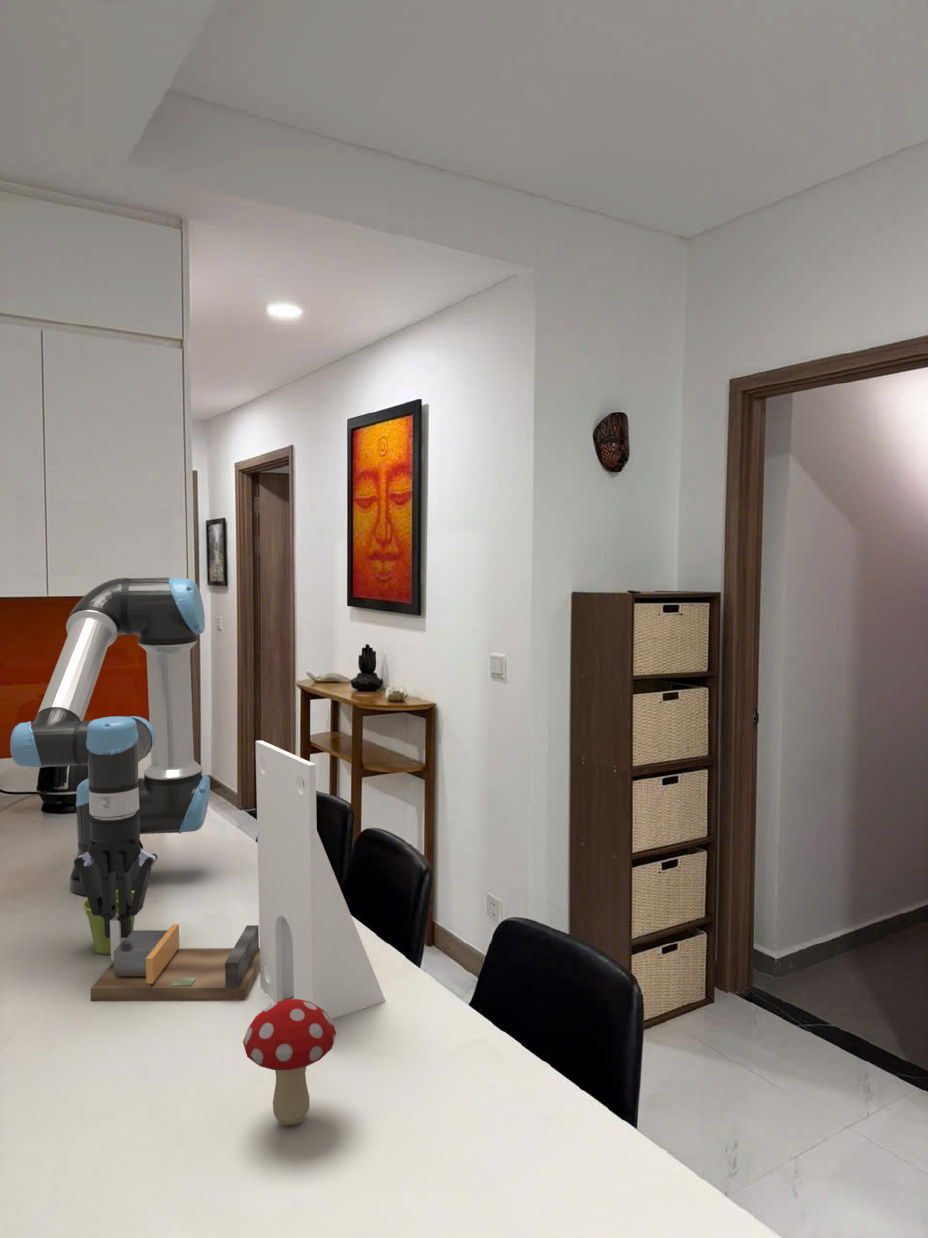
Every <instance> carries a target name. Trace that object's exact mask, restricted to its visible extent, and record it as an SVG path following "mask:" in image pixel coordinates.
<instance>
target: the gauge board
mask: <svg viewBox="0 0 928 1238" xmlns="http://www.w3.org/2000/svg"><path fill="white" fill-rule="evenodd" d="M258 974H260V935H259V925H258V924H257V925H255V924H253V925H249V924H248V925H246V926H245V928H244V930H243V931H242V933H241V935H240V937H239V938H238V940H237V941H236V943H235V944H234V947H233V948H231V947H229V948H228V947H225V948H224V947H222V948H221V947H220V948H219V947H215V948H214V947H211V948H209V947H208V948H206V947H204V948H199V947H198V948H196V947H195V948H194V947H193V948H192V947H191V948H186V947H185V948H180V947H179V948H178V950H177V951H176V952H175V954H174V955H173V956H172V958H171V959H170V961H169V962H168V963H167V965H166V966H165V968H164V969H163V970H162V972H161V973H160V974H159V976H158V977H157V979H156V980H155V981H154V983H147V982H146V976H114V961H113V962H112V963H111V964H110V965H109V966H108V967H107V968H106V970H105V971H104V972H103V973H102V974H101V975H100V977H99V978H98V979H97V980H96V981H95V982H94V984H92V985H91V987H90V1001H91V1002H100V1001H102V1002H103V1001H104V1002H106V1001H107V1002H108V1001H109V1002H116V1001H117V1002H122V1001H125V1002H126V1001H127V1002H128V1001H130V1002H133V1001H134V1002H135V1001H140V1002H141V1001H143V1002H144V1001H153V1002H155V1001H246V999H247V998H248V995H249V993H250V991H251V989H252V987H253V986H254V982H255V981H256V979H257V976H258Z"/></svg>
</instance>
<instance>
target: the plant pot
mask: <svg viewBox="0 0 928 1238" xmlns="http://www.w3.org/2000/svg"><path fill="white" fill-rule="evenodd" d="M134 891H135V890H131V892H132V900H133V895H134ZM82 908H83V910H84V911H85V914H86V916H87V919H88V921H89V927H90V928H89V929H90V932H91V936H92V942H93V947H94V951H95V952H96V953H98V954H101V955H111V941H110V938H106V936H105V924H104V918H103V917H101V916H99V915H97V916H94V915H93V914H92V912H91V908H90V905H89V901H88V898H86V899H85V900H84V901H83V902H82ZM116 909H118V910H117V912H116V913H115V915H116V914H119V902H118V890H116ZM135 916H136V915H135ZM135 916H131V931H132V930H134V925H135Z"/></svg>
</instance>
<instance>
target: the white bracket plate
mask: <svg viewBox="0 0 928 1238" xmlns="http://www.w3.org/2000/svg"><path fill="white" fill-rule="evenodd" d="M316 766H317V764H316V763H314V762H312V761H309V760H306V759H304V758H302V757H300V756H298V755H296V754H293V753H291V752H288V751H286V750H284V749H282V748H281V747H278V746H275V745H273V744H271V743H268V742H266V741H264V740H255V775H256V777H255V778H256V780H255V781H256V783H255V784H256V786H255V787H256V820H257V821H256V826H257V828H256V829H257V836H256V837H257V870H258V871H257V876H258V879H257V881H258V885H257V886H258V923H259V948H260V971H259V976H260V985H259V986H260V989H262V990H263V992H265V994H266V993H267V994H268V995H269V996H268V995H267V994H266V995H267V996H268V997H269V998H270V999H271V1000H272V1001H273V1002H274V1003H277V1002H279V1001H282V1000H286V999H287V998H288V999H289V998H292V997H293V999H300V1000H305V1001H309V1002H311V1003H313V1004H315V1005H316V1006H318V1007H319V1008H321V1009H323V1010H324V1011H325V1012H326V1014H327V1015H328V1016H329V1017H330V1019H331V1020H332V1019H335V1018H337V1017H341V1016H344V1015H347V1014H350V1013H353V1012H356V1011H359V1010H362V1009H365V1008H369V1007H372V1006H374V1005H378V1004H381V1003H384V1002H386V999H385V997H384V994H383V991H382V988H381V985H380V983H379V981H378V978H377V976H376V974H375V972H374V969H373V966H372V964H371V962H370V959H369V957H368V954H367V951H366V949H365V946H364V944H363V941H362V939H361V936H360V934H359V931H358V929H357V926H356V924H355V922H354V919H353V916H352V914H351V912H350V909H349V906H348V904H347V901H346V899H345V897H344V894H343V892H342V890H341V887H340V884H339V882H338V879H337V877H336V875H335V871H334V870H333V868H332V865H331V862H330V860H329V857H328V855H327V853H326V850H325V847H324V844H323V842H322V839H321V837H320V835H319V832H318V830H317V827H318V826H317V823H318V822H317V776H316V775H317V771H316V769H317V768H316Z"/></svg>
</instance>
